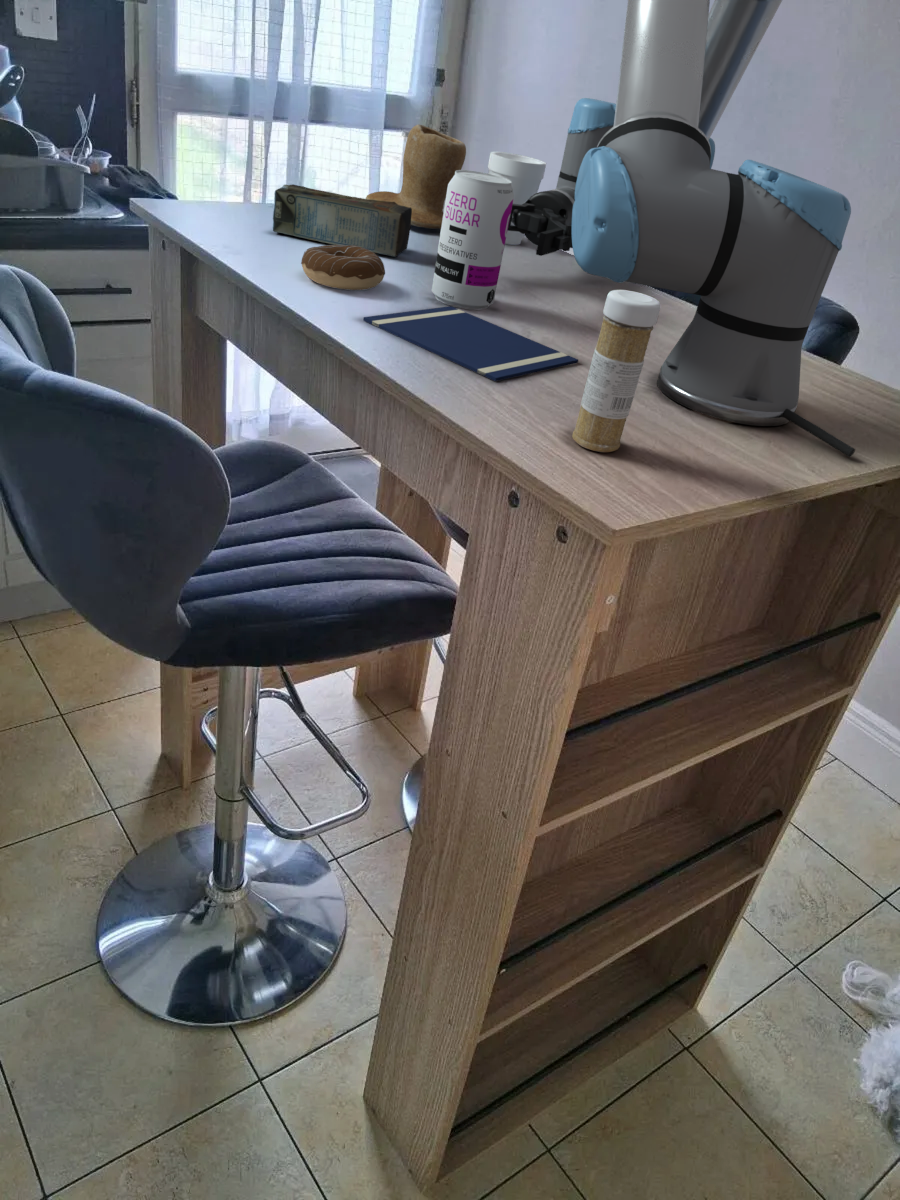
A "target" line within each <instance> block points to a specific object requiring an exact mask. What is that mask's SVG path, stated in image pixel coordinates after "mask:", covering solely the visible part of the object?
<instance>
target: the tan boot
mask: <svg viewBox="0 0 900 1200" xmlns="http://www.w3.org/2000/svg"><path fill="white" fill-rule="evenodd" d="M466 156H467V147H466V144H465V143H464V142H462V141H461V140H459V139H457V138H454V137H453V136H449V135H447V134H444V133H442V132H440V131H438V130H436V129H434V128H431V127H428V126H425V125H423V124H415V125H414V126H413V127H411V129H410V130H409V132H408V135H407V139H406V141H405V147H404V152H403V159H402V169H403V170H402V185H401V188H400V189H401V190H400V192H393V191H387V190H386V191H381V190H380V191H375V192H371V193H369V194H367V195H366V197H365V199H373V200H380V201H390V202H395V203H397V204H398V205H401V206H405V207H409V208H410V207H411V209H412V215H411V225H410V226H413V227H416V228H417V227H418V228H423V229H435V230H436V229H437V230H441V226H442V220H443V213H444V206H445V200H446V194H447V187H448V184H449V182H450V181H451V179H452V178H453V176H454V175H455V171H456V170H463V169H462V168H463V166H464V163H465V161H466Z"/></svg>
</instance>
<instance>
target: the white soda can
mask: <svg viewBox="0 0 900 1200" xmlns="http://www.w3.org/2000/svg"><path fill="white" fill-rule="evenodd" d="M511 183H512V182H511V181H510V180H508V179H505V178H503V177H499V176H496V175H492V174H489V173H486V172H481V171H476V170H467V169H461V170H456V171H455V175H454V176H453V178H452V179H451V181H450V182H449V184H448V187H447V194H446V198H445V201H444V206H443V220H442V226H441V229H440V233H439V240H438V246H437V253H436V259H435V260H436V261H435V266H434V273H433V278H432V285H431V292H432V293H433V294H434V298H435V299H436V300H437V301H438V302H441V303H442V304H444V305H447V306H452V307H454V308H456V309H464V310H469V311H470V310H473V311H480V310H486V309H488V308H489V306H491V305H493V304H494V303H495V297H496V292H497V287H498V282H499V276H500V272H501V266H502V262H503V256H504V251H505V246H506V244H505V241H506V236H507V231H508V225H509V220H510V215H511V210H512V204H513V199H514V193H513V190H512V186H511Z"/></svg>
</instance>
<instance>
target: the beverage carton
mask: <svg viewBox="0 0 900 1200" xmlns="http://www.w3.org/2000/svg"><path fill="white" fill-rule="evenodd" d="M273 195H274V197H273V200H274V201H273V203H274V204H273V211H272V231H273V232H274V233H279V234H284V235H288V236H294V237H297V238H302V239H306V240H310V241H316V242H320V243H324V244H325V243H326V244H328V245H354V246H358V247H362V248H365V249H368V250H370V251H372V252H374V253H375V254H377V255H384V256H387V257H393V258H395V257H397V256H399V255H400V254H402V253H403V252H405V251H406V250H407V249H408V244H409V239H410V233H411V226H412V225H411V215H412V209H411V207H410V208H409V207H405V206H401V205H398V204H397V203H395V202H390V201H380V200H373V199H366V198H363V197H357V196H351V195H345V194H340V193H336V192H331V191H325V190H321V189H315V188H311V187H307V186H305V185H304V186H302V185H297V184H292V183H291V184H282V187H280V188H279V187H278V188H276V189H275V190H274V194H273Z"/></svg>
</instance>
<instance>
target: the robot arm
mask: <svg viewBox="0 0 900 1200" xmlns="http://www.w3.org/2000/svg"><path fill="white" fill-rule="evenodd" d="M710 3H711V0H627V5H626V13H625V20H624V29H623V30H624V31H623V38H622V50H621V56H620V57H621V58H620V65H619V74H618V84H617V93H616V102H615V103H614V102H609V101H606V100H602V99H601V100H600V99H597V98H590V97H583V98H580V99H578V100H577V101H576V103H575V105H574V108H573V112H572V116H571V120H570V123H569V127H568V129H567V136H566V140H565V146H564V151H563V155H562V160H561V166H560V171H559V175H558V177H557V181H556V187H555V188H552V189H549V190H543V191H538V192H537V193H536V194H534V195H532V196H531V197H530V198H529V199H528V200H527V201H526V202H525V203H524V204H522V205H520V204H512V210H511V215H510V220H509V225H508V231H518V232H520V233H522V234H524V235H523V236H525V238H526V239H527V240H528V241H529V242H530V243H531V244H533V245H535V246H536V252H535V255H536V256H540V257H542V256H546V255H548V254H552V253H555V252H559V251H563V252H570V249H572V252H573V256H574V259H575V261H576V263H577V265H578V266H579V267H580V268H581V270H582V271H583V272H585V273H587V274H589V275H592V276H597V277H601V278H605V279H609V280H610V281H612V282H613V283H618V284H619V283H620V284H623V283H625V282H626V283H629V284H637V285H640V286H646V287H651V288H657V289H663V290H669V291H673V292H679V293H685V294H691V295H696V296H700V297H699V300H698V304H697V307H696V310H695V313H694V316H693V318H692V319H691V321H690V323H689V325H688V326H687V328H686V329H685V330H684V332H683V333H682V335H681V336H680V338H679V339H678V341H677V342H676V344H675V345H674V346H673V347H672V349H671V351H670V352H669V353H668V355H667V357H666V358H665V360H664V361H663V363H662V365H661V366H660V367H661V368H660V370H659V373H658V376H657V380H656V385H657V387H658V389H659V390H660V391H661V392H662V393H663V394H664V395H665V396H666V397H668V398H670V399H671V401H674V402H675V403H678V404H679V405H682V406H684V407H686V408H688V409H690V410H692V411H695V412H698V413H700V414H703V415H706V416H709V417H713V418H716V419H719V420H722V421H727V422H731V423H736V424H741V425H748V426H758V427H776V426H777V427H778V426H782V425H785V424H788V423H789V422H791V423H792V424H793V425H796V426H798V427H799V428H800V429H803V430H804V431H806V432H808V433H809V434H811V435H812V436H814V437H816V438H817V439H819V440H821V441H822V442H824V443H825V444H827V445H829V446H830V447H832V448H833V449H835V450H837V451H838V452H840V453H841V454H843V455H845V456H846V457H848V458H851V457H852V456H853V455H854V453H855V451H856V449H855V448H854V447H852V446H850V445H849V444H847V443H846V442H844V441H842V440H841V439H839V438H838V437H836V436H835V435H833V434H831V433H829V432H828V431H826V430H825V429H823V428H821V427H820V426H818V425H816V424H814V423H813V422H811V421H810V420H807V418H805V417H804V416H801V415H799V414H798V413H796V410H797V407H798V405H799V399H800V381H801V366H802V365H801V363H802V349H803V344H804V341H805V337H806V336H807V333H808V331H809V328H810V325H811V324H812V320H813V318H814V315H815V313H816V309H817V307H818V305H819V302H820V300H821V297H822V295H823V292H824V289H825V287H826V284H827V282H828V280H829V278H830V275H831V272H832V269H833V267H834V264H835V262H836V259H837V257H838V254H839V252H840V251H841V250H842V248H843V240H844V237H845V234H846V231H847V227H848V224H849V221H850V218H851V214H852V207H851V203H850V200H849V199H848V198H847V196H845V195H844V194H843V193H841V192H839V191H836V190H834V189H832V188H829V187H827V186H824V185H822V184H820V183H817V182H814V181H811V180H809V179H807V178H804V177H802V176H798V175H796V174H794V173H790V172H788V171H785V170H782V169H780V168H777V167H774V166H771V165H768V164H766V163H763V162H759V161H756V160H753V159H746V160H744V161H743V162H742V164H741V166H739V167H738V171H737V173H732V172H727V171H723V170H719V169H713V168H712V167H713V164H714V161H715V154H716V144H715V141H714V139H713V138H711V136H712V135H713V133H714V131H715V129H716V127H717V125H718V123H719V121H720V120H721V117H722V116H723V114H724V112H725V110H726V108H727V107H728V105H729V102H730V100H731V99H732V97H733V95H734V93H735V91H736V89H737V88H738V86H739V84H740V82H741V79H742V78H743V76H744V74H745V72H746V70H747V68H748V66H749V65H750V62H751V61H752V59H753V57H754V55H755V53H756V52H757V50H758V48H759V46H760V43H761V42H762V40H763V38H764V36H765V35H766V33H767V31H768V28H769V27H770V25H771V23H772V21H773V19H774V18H775V16H776V13H777V12H778V9H780V8H779V7H780V6H781V4H782V3H783V0H714V1H713V3H712V5H711V8H710ZM511 222H512V223H513V224H514V225H515V226H512V225H511Z"/></svg>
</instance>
